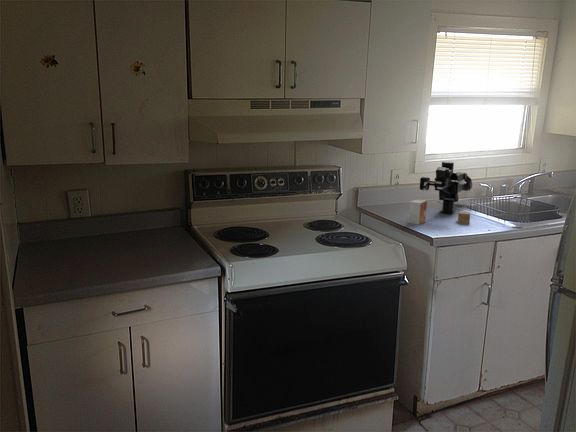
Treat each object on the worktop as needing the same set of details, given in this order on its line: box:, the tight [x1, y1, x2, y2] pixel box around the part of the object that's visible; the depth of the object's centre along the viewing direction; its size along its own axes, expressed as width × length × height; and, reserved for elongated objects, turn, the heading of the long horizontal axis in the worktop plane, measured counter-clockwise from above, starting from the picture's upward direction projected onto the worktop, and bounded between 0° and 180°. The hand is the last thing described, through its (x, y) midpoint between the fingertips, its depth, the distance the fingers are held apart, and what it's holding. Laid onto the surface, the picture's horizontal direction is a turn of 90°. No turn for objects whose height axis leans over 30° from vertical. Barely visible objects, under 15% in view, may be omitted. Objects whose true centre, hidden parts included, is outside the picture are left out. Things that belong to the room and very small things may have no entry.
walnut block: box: [457, 210, 471, 225], centre depth 258 cm, size 5×5×5 cm
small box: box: [407, 198, 428, 226], centre depth 256 cm, size 8×6×10 cm
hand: (433, 188), depth 254 cm, fingers open, 9 cm apart
